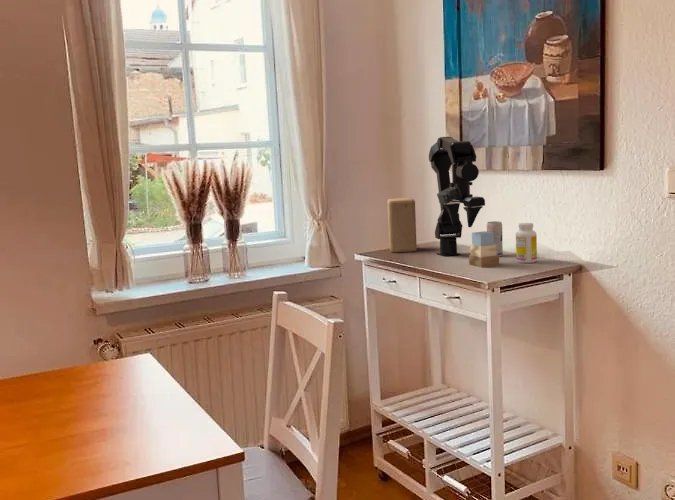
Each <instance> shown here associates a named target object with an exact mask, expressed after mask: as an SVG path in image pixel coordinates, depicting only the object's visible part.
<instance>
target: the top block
mask: <svg viewBox="0 0 675 500" xmlns="http://www.w3.org/2000/svg"><path fill="white" fill-rule="evenodd" d="M471 245H476V246H488V245H494V236H493V233H492V232H487V230H486V231H485V230H483V231H476V232H471Z"/></svg>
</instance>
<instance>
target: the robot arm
mask: <svg viewBox="0 0 675 500" xmlns="http://www.w3.org/2000/svg"><path fill="white" fill-rule="evenodd" d="M428 152H429V153H428V161H429V162H430V167H431V169H432V170H433V172H435V174H436V180H437V181H436V182H437V189H438V193H436V195H437V198H438V203H439V206H440V214H439V216H438V218H437V223H436V226H435V229H434V236H435V239H437V240H439V252H436V255H439V256H443V257H451V256H456V255H457V256H458V255H461V252H458V244H457V239H461V238H462V232H463V223H462V221H461V220H460V214H459V212H460V210H459V209H460V205H461V204H463V206H462V207H463V209H464V211H465V212H466V218H467V219H466V220H467V226H468V228H473V224H474V223H475V221H476V218H477V217H478V214H479V213H480V211H481V209H483V206H486V199H485V198H484V197H483V196H473V194H472V193H471V186H473V182H474V181H475V180H477V178H478V177H479V174H480V171H479V168H478V166H477V165H476V164H474V163H476V162H477V155H476V150H475V148H474V146H473V144H472V143H471V142H470V141H469V140H466V141H465V140H464V141H462V140H461V141H459V140H457V139H455V138H454V137H452V136H440V137H438V138H437V140H436V142H435V143H433V145H432V146H430V149H429V151H428ZM450 169H451V174H452V175H450ZM450 176H451V177H450ZM451 180H452V181H451Z"/></svg>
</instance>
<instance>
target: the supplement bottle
mask: <svg viewBox="0 0 675 500" xmlns="http://www.w3.org/2000/svg"><path fill="white" fill-rule="evenodd" d="M533 228H534V222H519V223H518V229H519V230H518V231H516V233H515V254H516V255H515V256H516V258H515V260H516V262H517V263H520V264H530V263H536V262H537V260H538V254H537V253H538V249H537V248H538V247H537V244H538V243H537V237H538V236H537V231H535V230H534V229H533Z"/></svg>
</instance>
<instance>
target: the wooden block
mask: <svg viewBox="0 0 675 500" xmlns="http://www.w3.org/2000/svg"><path fill="white" fill-rule="evenodd" d="M386 202H387V223H388V224H387V225H388V226H387V227H388V228H387V229H388V247H389V250H390V252H391V253H412V252H416V251H417V250H418V248H417V247H418V245H417V222H416V221H417V219H416V201H415V199H414V198H412V197H398V198H397V197H396V198H395V197H394V198H388V199H387V201H386Z"/></svg>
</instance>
